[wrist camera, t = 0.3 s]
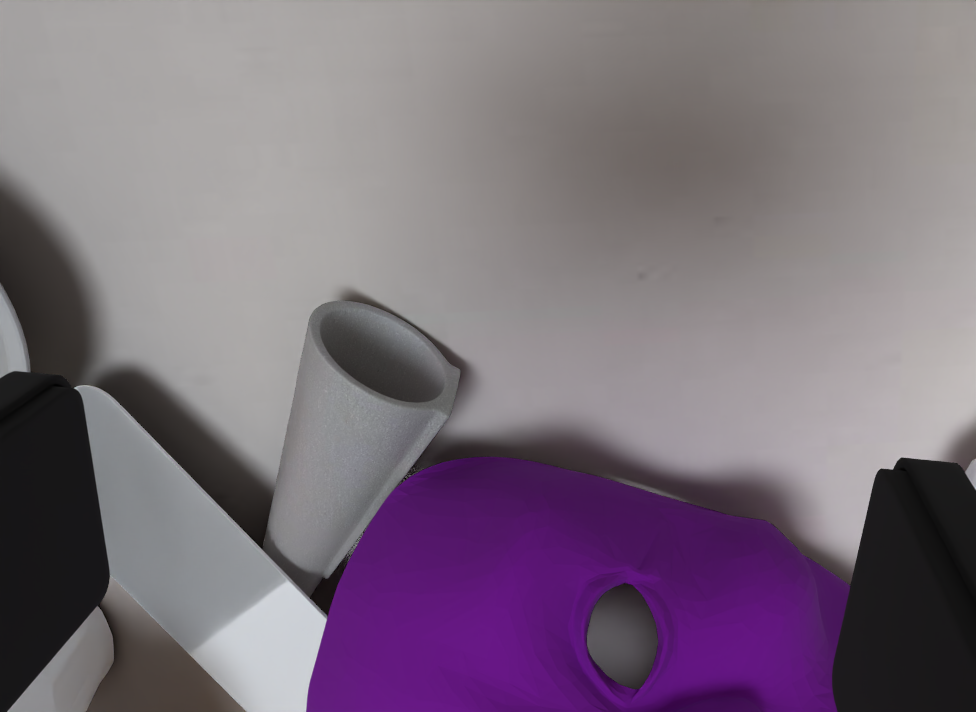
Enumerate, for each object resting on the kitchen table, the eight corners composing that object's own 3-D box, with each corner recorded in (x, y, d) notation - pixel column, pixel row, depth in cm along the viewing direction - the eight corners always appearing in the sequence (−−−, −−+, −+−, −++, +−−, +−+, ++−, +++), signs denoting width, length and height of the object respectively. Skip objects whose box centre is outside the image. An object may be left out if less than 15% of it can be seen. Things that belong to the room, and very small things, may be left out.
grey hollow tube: (171, 559, 47) (330, 279, 38) (285, 613, 48) (466, 354, 39) (122, 649, 42) (290, 352, 33) (249, 706, 43) (447, 436, 34)
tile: (82, 372, 38) (89, 367, 38) (13, 478, 45) (20, 473, 45) (416, 714, 40) (420, 706, 40) (300, 766, 46) (304, 759, 47)
